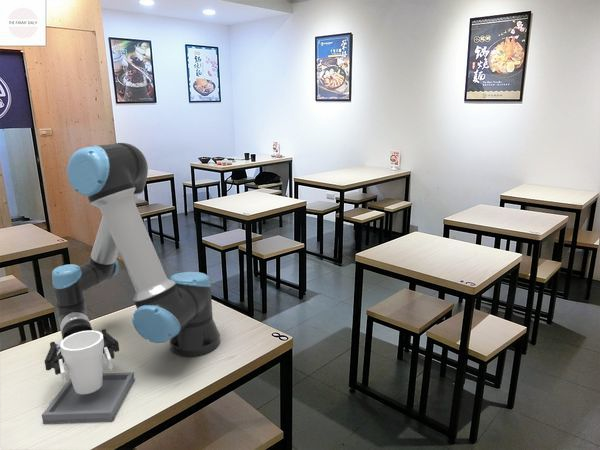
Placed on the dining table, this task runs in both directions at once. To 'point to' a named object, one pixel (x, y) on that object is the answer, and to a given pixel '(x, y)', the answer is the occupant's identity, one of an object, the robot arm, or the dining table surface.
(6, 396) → the dining table surface
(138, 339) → the dining table surface
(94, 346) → the foam cup
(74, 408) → the serving tray
